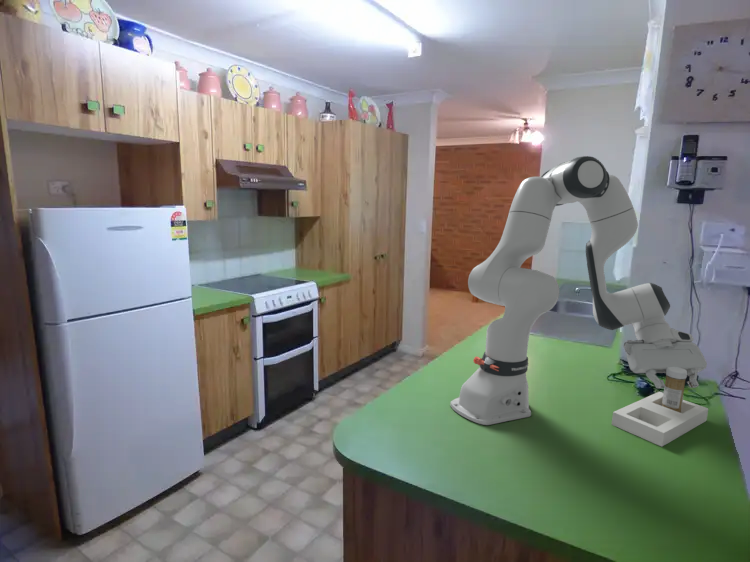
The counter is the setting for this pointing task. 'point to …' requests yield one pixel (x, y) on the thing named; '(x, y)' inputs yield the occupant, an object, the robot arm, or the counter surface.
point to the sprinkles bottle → (674, 388)
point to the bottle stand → (658, 419)
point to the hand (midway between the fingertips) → (677, 387)
